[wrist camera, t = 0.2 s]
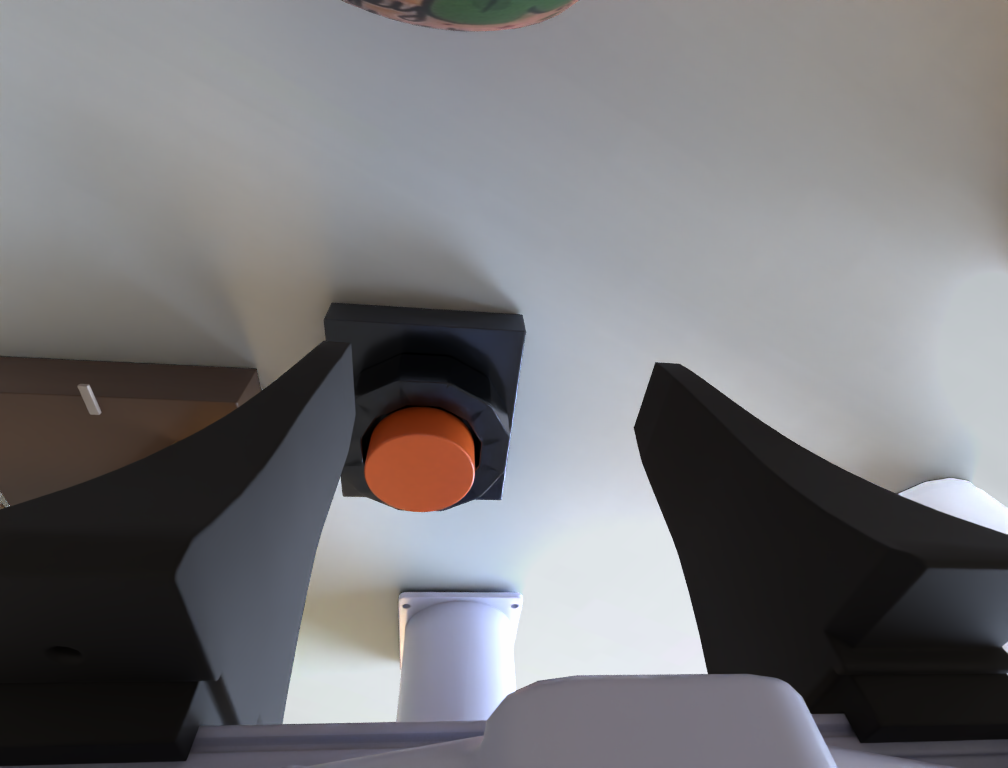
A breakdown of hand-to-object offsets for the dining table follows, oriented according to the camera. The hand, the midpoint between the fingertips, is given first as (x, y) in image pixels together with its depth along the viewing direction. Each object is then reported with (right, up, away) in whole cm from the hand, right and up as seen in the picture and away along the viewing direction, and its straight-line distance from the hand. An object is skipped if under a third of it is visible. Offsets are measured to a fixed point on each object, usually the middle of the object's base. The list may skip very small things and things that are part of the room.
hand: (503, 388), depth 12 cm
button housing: (-4, -1, +12) cm, 13 cm away
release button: (-4, -3, +10) cm, 11 cm away
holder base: (-17, -4, +14) cm, 22 cm away
